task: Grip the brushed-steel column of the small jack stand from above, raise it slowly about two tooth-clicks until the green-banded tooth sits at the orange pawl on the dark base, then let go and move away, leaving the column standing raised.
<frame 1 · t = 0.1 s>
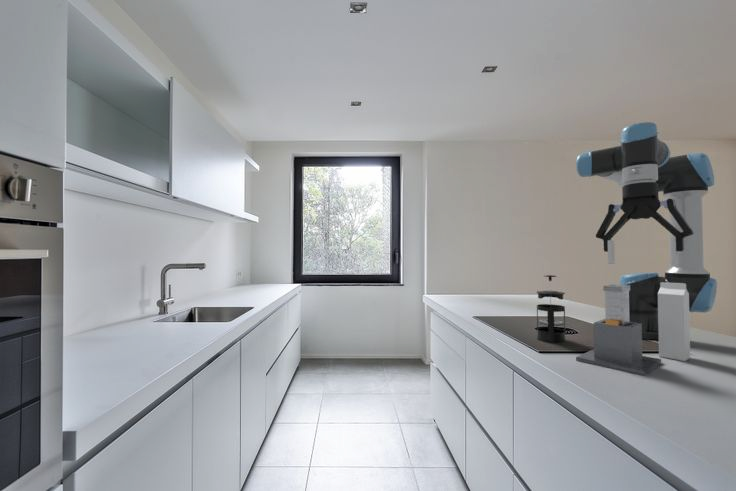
hand: (641, 264, 93), 28 cm above the countertop, tool pointing down, fingers open, 13 cm apart
column: (617, 321, 101), point 11 cm above the countertop, slide at 0.0 cm
milk: (674, 357, 105), on the countertop
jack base: (618, 361, 101), on the countertop
french press: (551, 339, 127), on the countertop
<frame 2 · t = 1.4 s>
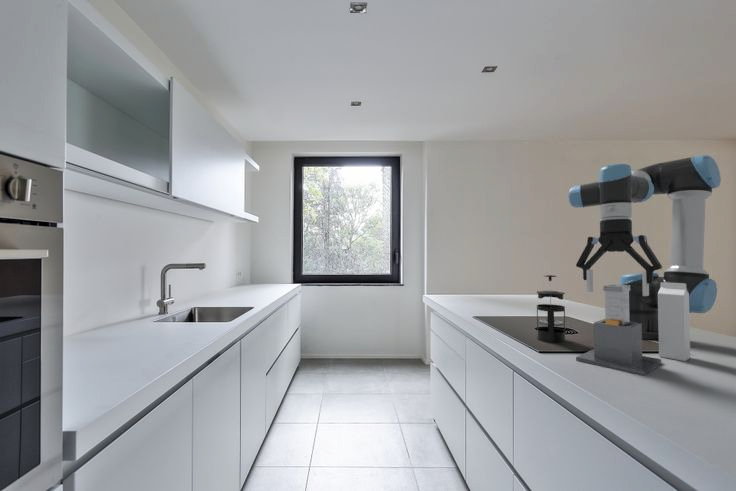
hand: (616, 293, 101), 19 cm above the countertop, tool pointing down, fingers open, 13 cm apart
nothing on the countertop moved.
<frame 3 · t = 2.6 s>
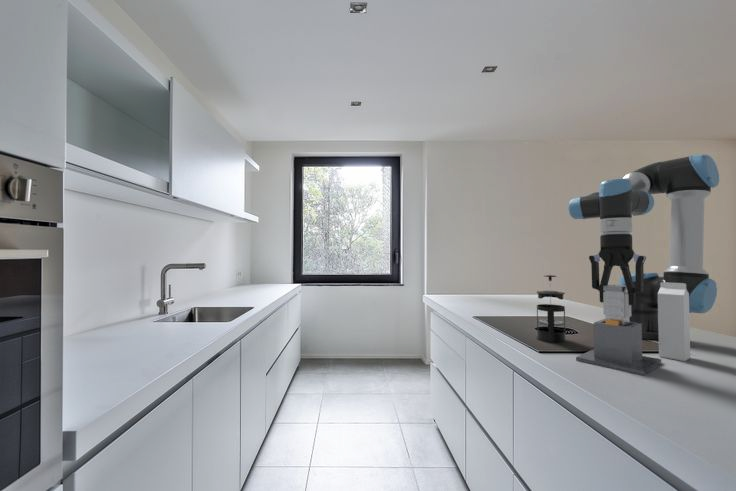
hand: (617, 315, 101), 13 cm above the countertop, tool pointing down, fingers closed on column, 4 cm apart
column: (617, 321, 101), point 11 cm above the countertop, slide at 0.0 cm, touching gripper
everything else where it was.
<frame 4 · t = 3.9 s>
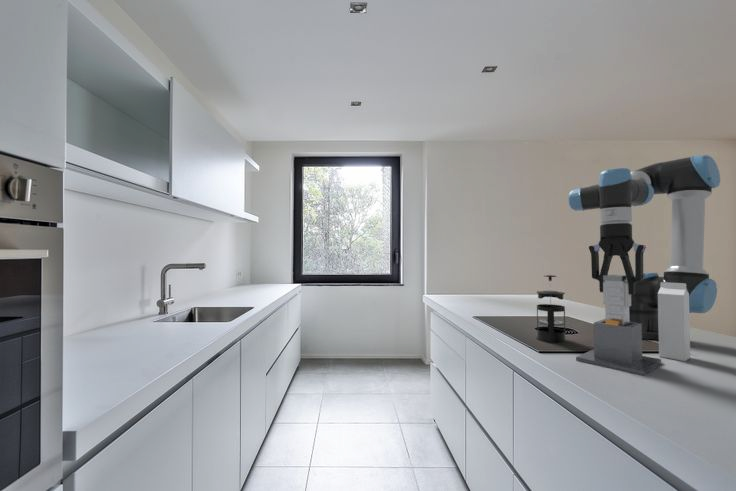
hand: (617, 304, 101), 16 cm above the countertop, tool pointing down, fingers closed on column, 4 cm apart
column: (617, 311, 101), point 14 cm above the countertop, slide at 2.9 cm, touching gripper
everything else where it was.
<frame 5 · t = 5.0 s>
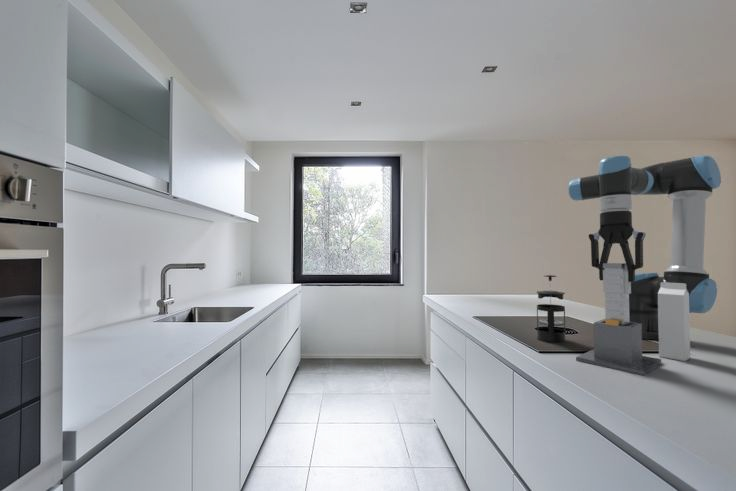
hand: (616, 292, 101), 20 cm above the countertop, tool pointing down, fingers closed on column, 4 cm apart
column: (617, 298, 101), point 18 cm above the countertop, slide at 6.4 cm, touching gripper
everything else where it was.
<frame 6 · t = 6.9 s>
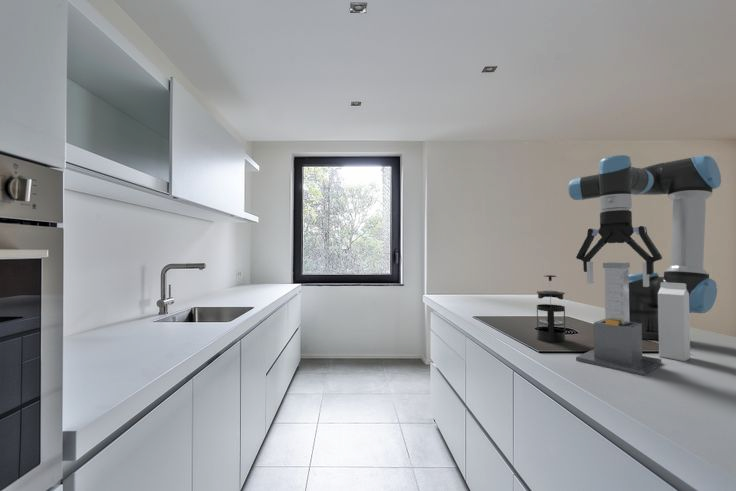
hand: (616, 285, 101), 22 cm above the countertop, tool pointing down, fingers open, 13 cm apart
column: (617, 298, 101), point 18 cm above the countertop, slide at 6.6 cm
everything else where it was.
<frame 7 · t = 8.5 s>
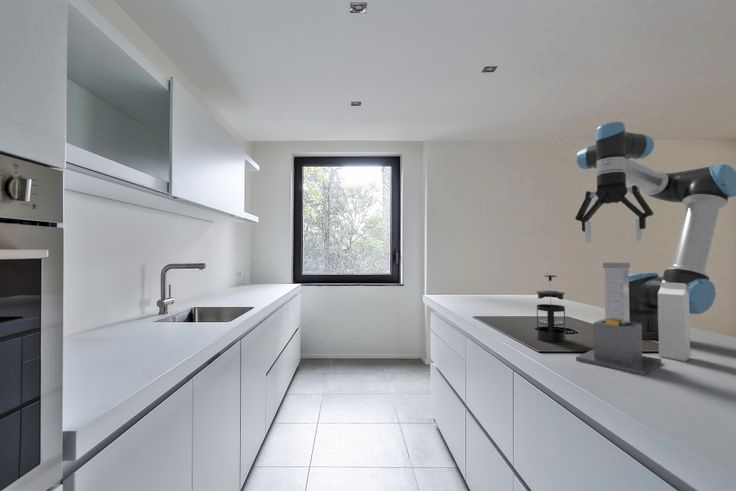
hand: (612, 241, 111), 35 cm above the countertop, tool pointing down, fingers open, 13 cm apart
nothing on the countertop moved.
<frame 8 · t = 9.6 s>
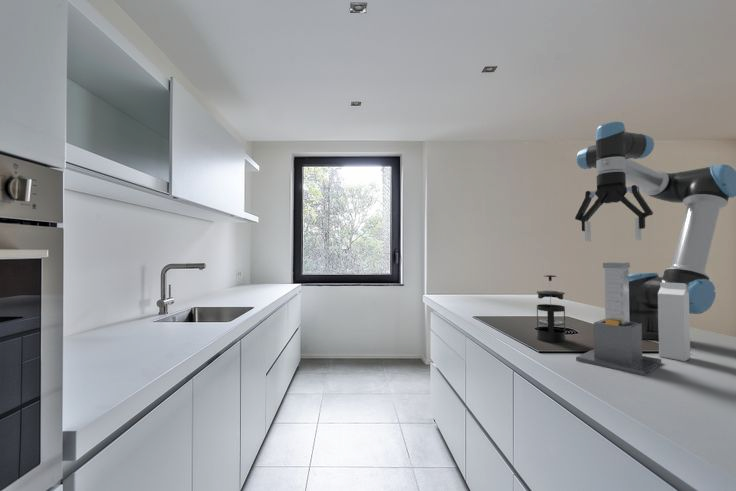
hand: (612, 240, 111), 35 cm above the countertop, tool pointing down, fingers open, 13 cm apart
nothing on the countertop moved.
at the end: column slide at 6.6 cm; the gripper is holding nothing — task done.
